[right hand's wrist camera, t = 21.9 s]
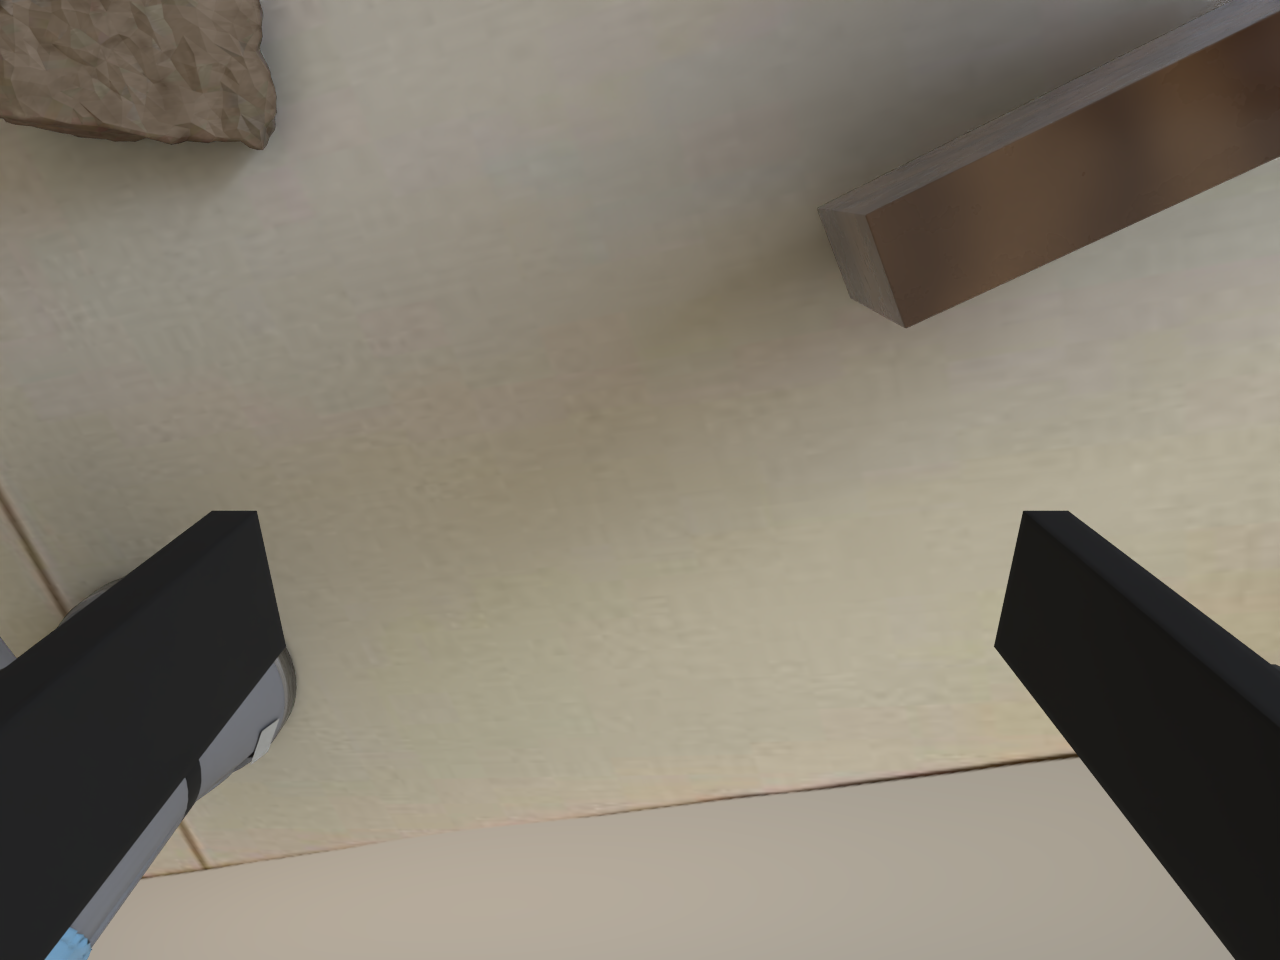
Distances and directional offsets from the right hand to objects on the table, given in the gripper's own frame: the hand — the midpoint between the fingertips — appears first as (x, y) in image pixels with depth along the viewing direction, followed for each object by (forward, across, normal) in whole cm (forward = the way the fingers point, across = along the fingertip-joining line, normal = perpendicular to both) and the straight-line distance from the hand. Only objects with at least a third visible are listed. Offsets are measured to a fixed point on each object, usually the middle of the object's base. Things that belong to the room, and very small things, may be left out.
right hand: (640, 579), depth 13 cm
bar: (+28, -22, -9) cm, 37 cm away
